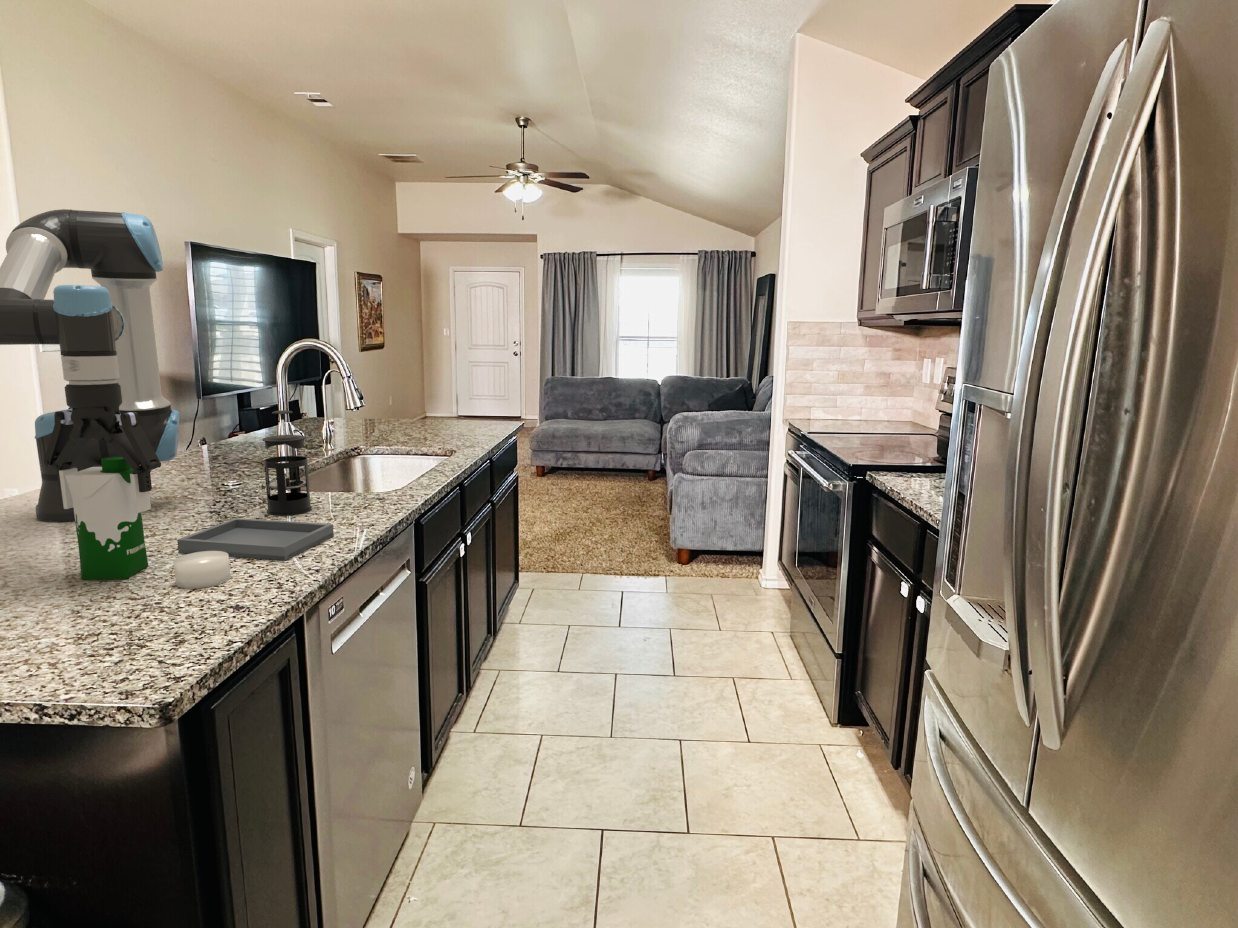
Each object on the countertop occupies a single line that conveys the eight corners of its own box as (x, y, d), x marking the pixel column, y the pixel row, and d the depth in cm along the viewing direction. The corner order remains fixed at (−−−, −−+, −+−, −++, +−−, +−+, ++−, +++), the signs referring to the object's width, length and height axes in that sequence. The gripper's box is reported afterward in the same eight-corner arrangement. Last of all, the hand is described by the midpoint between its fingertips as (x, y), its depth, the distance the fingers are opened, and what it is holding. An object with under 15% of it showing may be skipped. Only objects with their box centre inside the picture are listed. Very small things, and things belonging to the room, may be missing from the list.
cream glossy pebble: (164, 587, 121) (161, 563, 120) (199, 571, 129) (197, 549, 128) (207, 590, 120) (205, 567, 119) (241, 574, 127) (239, 552, 127)
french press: (304, 516, 165) (297, 413, 161) (259, 517, 164) (251, 413, 159) (318, 503, 176) (312, 407, 172) (277, 504, 175) (269, 407, 171)
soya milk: (129, 581, 123) (115, 463, 119) (71, 582, 122) (55, 463, 119) (156, 564, 132) (144, 453, 128) (103, 565, 131) (89, 453, 127)
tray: (178, 552, 138) (177, 539, 138) (236, 529, 154) (235, 517, 153) (285, 560, 135) (284, 547, 134) (333, 536, 150) (332, 524, 150)
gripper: (5, 382, 119) (23, 510, 123) (140, 385, 115) (154, 517, 119) (48, 379, 127) (64, 500, 130) (177, 382, 122) (189, 507, 126)
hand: (107, 509), depth 125 cm, fingers open, 13 cm apart
